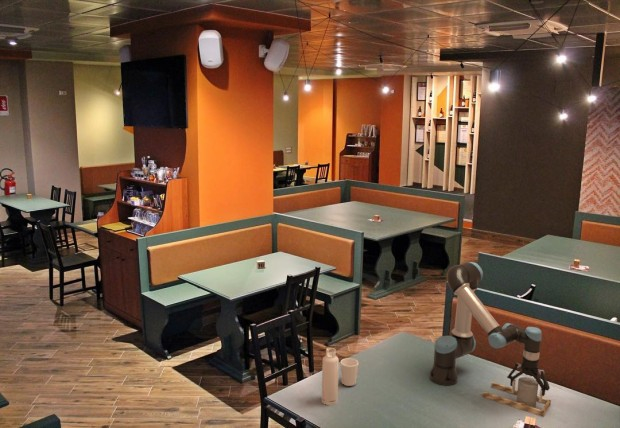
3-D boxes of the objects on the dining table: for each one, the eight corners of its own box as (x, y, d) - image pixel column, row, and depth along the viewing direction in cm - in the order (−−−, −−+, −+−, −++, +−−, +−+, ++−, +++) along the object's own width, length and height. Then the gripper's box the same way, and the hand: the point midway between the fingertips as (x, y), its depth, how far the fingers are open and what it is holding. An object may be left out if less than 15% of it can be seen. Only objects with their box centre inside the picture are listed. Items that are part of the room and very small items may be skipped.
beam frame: (482, 396, 283) (483, 391, 283) (491, 386, 294) (492, 380, 294) (543, 416, 265) (543, 410, 265) (550, 404, 276) (551, 399, 276)
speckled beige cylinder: (537, 410, 271) (540, 387, 269) (517, 407, 273) (520, 385, 271) (534, 400, 281) (536, 378, 278) (514, 398, 282) (516, 376, 280)
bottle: (339, 398, 279) (341, 347, 273) (334, 406, 271) (336, 354, 266) (324, 395, 281) (325, 345, 276) (319, 403, 274) (320, 351, 268)
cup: (337, 386, 291) (337, 364, 289) (342, 378, 300) (343, 356, 298) (354, 389, 287) (355, 367, 285) (360, 381, 296) (361, 360, 294)
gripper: (503, 353, 276) (499, 391, 281) (555, 368, 262) (550, 408, 266) (508, 348, 282) (504, 385, 287) (559, 362, 268) (554, 401, 272)
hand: (526, 396), depth 276 cm, fingers open, 13 cm apart
